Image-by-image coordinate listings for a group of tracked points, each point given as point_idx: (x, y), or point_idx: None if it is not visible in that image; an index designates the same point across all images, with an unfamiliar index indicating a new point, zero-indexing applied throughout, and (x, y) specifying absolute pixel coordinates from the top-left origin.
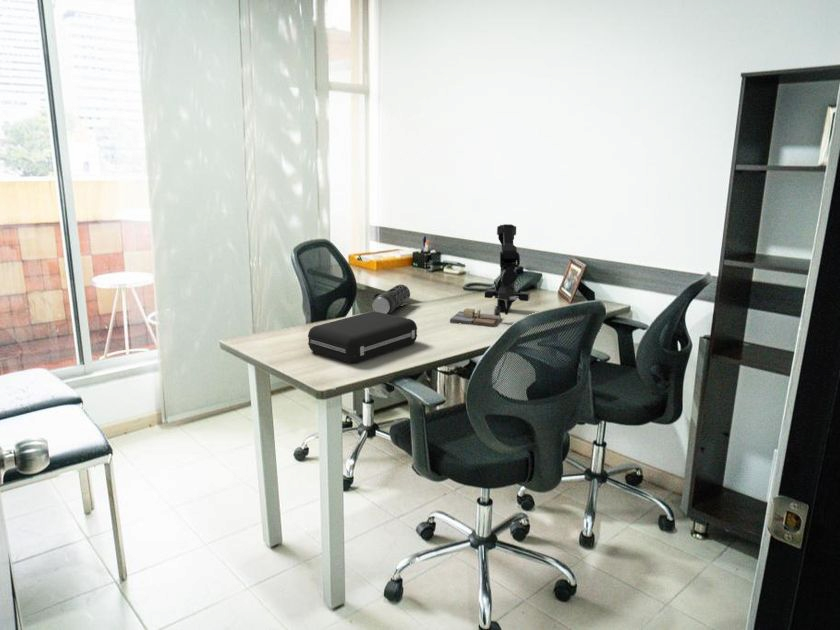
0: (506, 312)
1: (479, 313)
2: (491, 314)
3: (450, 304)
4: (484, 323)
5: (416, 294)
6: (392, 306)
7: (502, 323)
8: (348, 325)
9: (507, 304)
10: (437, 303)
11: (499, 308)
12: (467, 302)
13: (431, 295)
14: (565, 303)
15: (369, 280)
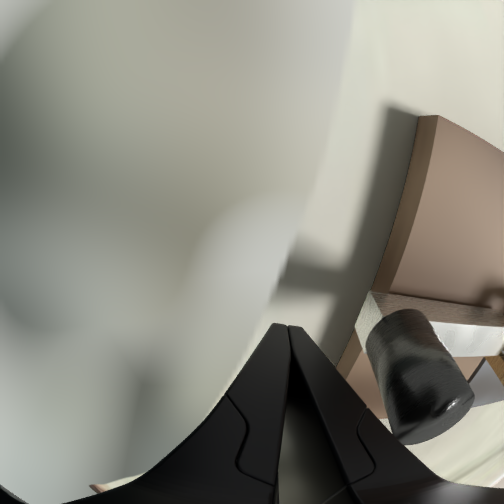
0: (286, 340)
1: (501, 356)
2: (449, 338)
3: (462, 463)
4: (497, 149)
5: (484, 473)
6: None
7: (318, 267)
8: None
9: (273, 471)
10: (488, 452)
11: (412, 394)
12: None
13: None
14: (100, 485)
15: (498, 480)
